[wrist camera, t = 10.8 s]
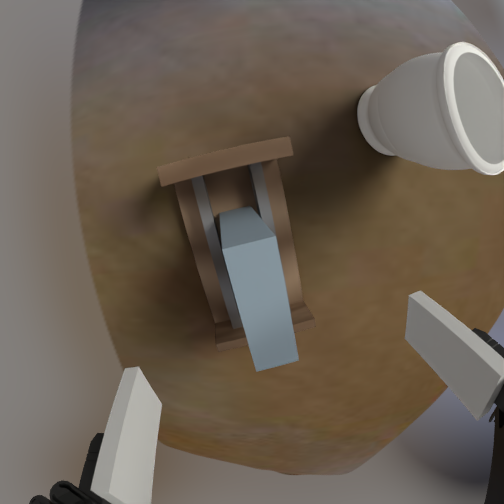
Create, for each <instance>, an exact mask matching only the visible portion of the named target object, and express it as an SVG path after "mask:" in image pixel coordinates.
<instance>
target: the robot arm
mask: <svg viewBox="0 0 504 504" xmlns="http://www.w3.org/2000/svg"><path fill="white" fill-rule="evenodd" d="M405 339H406V340H407V341H408V343H409V344H410V345H411V346H412V347H413V348H414V349H415V350H416V351H417V352H418V353H419V354H420V355H421V357H422V358H423V359H424V360H425V361H426V362H427V363H428V364H429V365H430V366H431V368H432V369H433V370H434V371H435V372H436V373H437V374H438V375H439V377H440V378H441V379H442V380H443V381H444V382H445V383H446V385H447V386H448V387H449V388H450V389H451V390H452V391H453V393H454V394H455V395H456V396H457V397H458V398H459V400H460V401H461V402H462V403H463V404H464V405H465V407H466V408H467V409H468V410H469V411H470V413H471V414H472V415H473V416H474V417H475V419H476V420H479V419H480V418H481V417H483V416H484V415H485V414H486V413H488V412H489V410H490V409H491V407H492V405H493V403H495V404H496V405H497V407H496V409H495V410H494V412H493V414H492V415H491V417H490V419H489V422H491V421H492V419H493V418H494V416H495V420H494V422H495V433H494V448H493V457H492V465H491V472H490V478H489V484H488V489H487V495H486V499H485V503H484V504H504V348H503V347H502V346H501V345H500V344H498V342H496V341H495V340H493V339H492V338H491V337H490V336H489V335H488V334H487V333H485V332H484V331H481V330H479V329H476V328H475V329H473V330H470V329H469V328H468V327H466V326H465V325H464V324H463V323H462V322H460V321H459V320H458V319H457V318H455V317H454V316H453V315H452V314H450V313H449V312H448V311H447V310H445V309H444V308H443V307H441V306H440V305H439V304H438V303H436V302H435V301H434V300H432V299H431V298H430V297H428V296H427V295H426V294H424V293H423V292H422V291H418V292H416V293H413V294H411V295H409V301H408V314H407V324H406V334H405ZM161 408H162V404H161V402H160V401H159V399H158V397H157V396H156V394H155V393H154V391H153V390H152V388H151V386H150V385H149V383H148V381H147V380H146V378H145V376H144V375H143V373H142V371H141V370H140V368H139V367H132V368H125V370H124V373H123V376H122V379H121V382H120V385H119V388H118V391H117V394H116V397H115V400H114V403H113V406H112V410H111V413H110V416H109V419H108V423H107V427H106V430H105V433H97V434H96V436H95V437H94V438H93V440H92V441H91V443H90V447H89V450H88V454H87V458H86V461H85V465H84V468H83V472H82V476H81V480H80V484H79V488H77V487H76V486H74V485H73V484H72V483H70V482H68V481H59V482H57V483H56V484H55V485H53V487H52V488H51V490H50V500H51V501H50V500H49V499H47V498H46V497H44V496H42V495H37V496H35V497H33V498H32V499H31V501H30V503H29V504H151V495H152V483H153V472H154V463H155V454H156V445H157V437H158V429H159V422H160V415H161Z"/></svg>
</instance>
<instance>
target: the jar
mask: <svg viewBox="0 0 504 504" xmlns="http://www.w3.org/2000/svg"><path fill="white" fill-rule="evenodd" d="M357 117H358V123H359V127H360V130H361V132H362V134H363V136H364V138H365V139H366V141H367V142H368V143H369V144H370V145H371V146H372V147H373V148H374V149H375V150H376V151H378V152H380V153H382V154H385V155H390V156H394V155H397V156H399V157H401V158H403V159H406V160H409V161H413V162H416V163H419V164H421V165H424V166H428V167H432V168H437V169H445V170H463V169H471V168H472V169H473V170H475V171H477V172H478V173H481V174H484V175H496V174H499V173H501V172H502V171H503V170H504V80H503V78H502V76H501V74H500V72H499V71H498V69H497V68H496V66H495V65H494V63H493V62H492V61H491V60H490V58H489V57H488V56H487V55H486V54H485V53H484V52H483V51H481V50H480V49H479V48H477V47H476V46H474V45H472V44H470V43H466V42H458V43H456V44H453V45H450V46H448V47H447V48H446V49H445V50H444V51H443V52H442V53H432V54H427V55H422V56H419V57H416V58H413V59H411V60H409V61H407V62H405V63H403V64H402V65H400V66H399V67H397V68H396V69H394V70H393V71H392V72H391V73H390V74H388V75H387V76H386V77H384V78H383V79H382V80H381V81H380V82H379V83H378V84H377V85H375V86H372V87H370V88H369V89H367V90H366V91H365V92H364V93H363V95H362V96H361V98H360V100H359V104H358V109H357Z"/></svg>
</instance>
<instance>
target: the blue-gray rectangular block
mask: <svg viewBox="0 0 504 504" xmlns="http://www.w3.org/2000/svg"><path fill="white" fill-rule="evenodd" d="M219 215H220V228H221V242H222V251H223V255H224V258H225V262H226V266H227V270H228V273H229V277H230V281H231V284H232V288H233V292H234V295H235V299H236V302H237V306H238V309H239V313H240V317H241V320H242V324H243V327H244V331H245V334H246V337H247V341H248V344H249V348H250V351H251V355H252V358H253V361H254V365H255V368H256V371H261V370H265V369H268V368H272V367H276V366H280V365H284V364H287V363H291V362H294V361H298V360H299V359H298V353H297V347H296V341H295V335H294V330H293V324H292V319H291V313H290V307H289V302H288V297H287V291H286V286H285V281H284V275H283V270H282V265H281V260H280V255H279V250H278V245H277V240H276V236H275V235H274V233H273V232H272V231H271V230H270V229H269V227H268V226H267V225H266V224H265V223H264V221H263V220H262V219H261V218H260V217H259V215H258V214H257V213H256V212H255V211H254V209H253V208H252V207H251V206H245V207H241V208H237V209H233V210H229V211H225V212H221V213H219Z"/></svg>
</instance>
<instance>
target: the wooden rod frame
mask: <svg viewBox="0 0 504 504" xmlns="http://www.w3.org/2000/svg"><path fill="white" fill-rule="evenodd" d="M288 156H293V150H292V145H291V141H290V136H287V137H282V138H276V139H270V140H265V141H260V142H255V143H250V144H245V145H240V146H236V147H231V148H227V149H223V150H218V151H214V152H210V153H206V154H202V155H198V156H195V157H191V158H187V159H183V160H180V161H176V162H173V163H169V164H166V165H163V166H159V167H157V171H158V175H159V179H160V183H161V187H162V186H166V185H169V184H173V183H174V186H175V190H176V194H177V198H178V202H179V205H180V209H181V213H182V216H183V220H184V224H185V227H186V231H187V234H188V238H189V241H190V245H191V248H192V252H193V255H194V258H195V262H196V265H197V268H198V272H199V275H200V278H201V281H202V284H203V288H204V291H205V294H206V297H207V300H208V303H209V306H210V309H211V312H212V315H213V318H214V321H215V340H216V347H217V349H218V352H221V351H225V350H230V349H234V348H238V347H243V346H247V345H249V344H248V341H247V337H246V334H245V331H244V327H243V324H242V320H241V317H240V313H239V309H238V306H237V302H236V299H235V295H234V292H233V288H232V284H231V281H230V277H229V273H228V270H227V266H226V262H225V258H224V255H223V251H222V242H221V228H220V215H219V213H221V212H225V211H229V210H233V209H237V208H241V207H245V206H251V207H252V208H253V209H254V211H255V212H256V213H257V214H258V215H259V217H260V218H261V219H262V220H263V221H264V223H265V224H266V225H267V226H268V227H269V229H270V230H271V231H272V232H273V233H274V235H275V236H276V240H277V245H278V250H279V255H280V260H281V265H282V270H283V275H284V281H285V286H286V291H287V297H288V302H289V307H290V313H291V319H292V324H293V330H294V333H296V332H300V331H303V330H306V329H310V328H313V327H316V325H315V318H314V317H313V315H312V314H311V312H310V310H309V309H308V307H307V306H306V304H305V302H304V301H303V295H302V289H301V283H300V276H299V270H298V265H297V259H296V253H295V247H294V242H293V236H292V231H291V225H290V220H289V215H288V210H287V204H286V199H285V194H284V189H283V184H282V179H281V175H280V170H279V165H278V160H277V158H282V157H288Z"/></svg>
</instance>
